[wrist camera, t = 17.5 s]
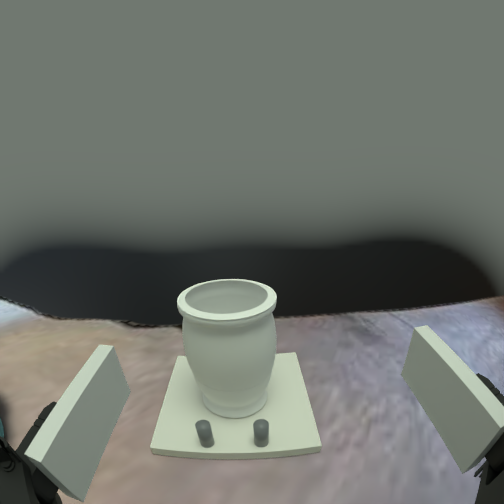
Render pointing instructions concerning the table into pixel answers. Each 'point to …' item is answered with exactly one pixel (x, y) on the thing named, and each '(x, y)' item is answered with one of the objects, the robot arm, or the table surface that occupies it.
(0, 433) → the casserole dish
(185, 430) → the tray
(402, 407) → the table surface
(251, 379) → the jar
